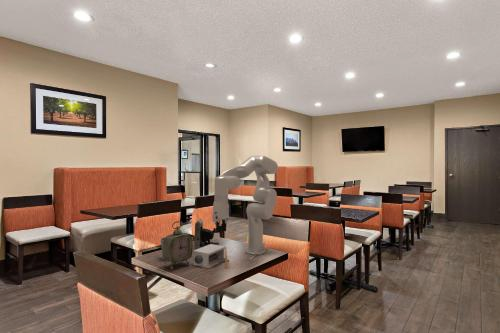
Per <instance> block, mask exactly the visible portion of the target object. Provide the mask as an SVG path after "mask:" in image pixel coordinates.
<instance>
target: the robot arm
mask: <svg viewBox="0 0 500 333" xmlns="http://www.w3.org/2000/svg"><path fill="white" fill-rule="evenodd" d="M278 170H279V166H278V162H276V161H275V160H274V159H271V158H270V157H267V156H265V155H252V156H251V155H250V157H248V158H247V159H245V160H243V162H242V163H241V164H239V165H237V166H235V167H231V168H229V169H227V170H225V171H224V172H222V173H221V174H220V175H218V176H215V177H214V181H213V182H214V186H213V187H214V193H213V194H214V197H213V198H214V201H213V204H212V211H211V212H212V213H211V214H212V216H211V217H212V218H211V219H212V222H213V223H214V224H215V228H216V231H215V233H217V234H218V233H219V234H222V232H227V224H228V220H229V218H230V208H229V190H236V189H238V188H239V187H240V186H241V179H245V178H248V177H249V176H250V175H251V174H252V173H254V174H255V176H256V183H255V188H254V191H253V194H252V195H253V196H252V199H253V201H255V202H251V203H249V204H248V205H247V207H246V216H247V231H248V232H247V242H248V243H247V248H246V249H245V253H246V254H248V255H254V256H255V255H263V254H265V253H266V249H265V248H264V247H265V245H266V244H265V243H264V225H263V224H264V223H263V221H262V220H270V219H271V218H272V217H273V214H274V211H275V206H276V203H277V198H278V194H277V190H275V189H274V188H272V187H271V188H269V186H270V179H269V178H268V176H267V175H275V174H276V173H278Z"/></svg>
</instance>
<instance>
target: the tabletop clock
mask: <svg viewBox="0 0 500 333" xmlns="http://www.w3.org/2000/svg"><path fill="white" fill-rule="evenodd" d="M176 223H181V226H176V227H174V225H175V224H176ZM183 225H184V224H183V222H182V221H180V220H177V221H176V220H175V221H174V222H173V223H172V224H171V227H172V229H174V230H173V232H172V233H170V234H168V235H166V236H165V237H163V238H164V240H163V255H164V259H165V260H164V261H166V260H167V262H171V266H170V270H171V271H172V270H174V266H177V264H178V263H183V262H186V265H187V266H188V265H190V261H188V260H189V259H191V258H192V257H193V256H192V255H193V251H194V244H193V243H194V242H193V237H192V234H188V233H184V232H183V231H182V230H181V229H182V227H183Z"/></svg>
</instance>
